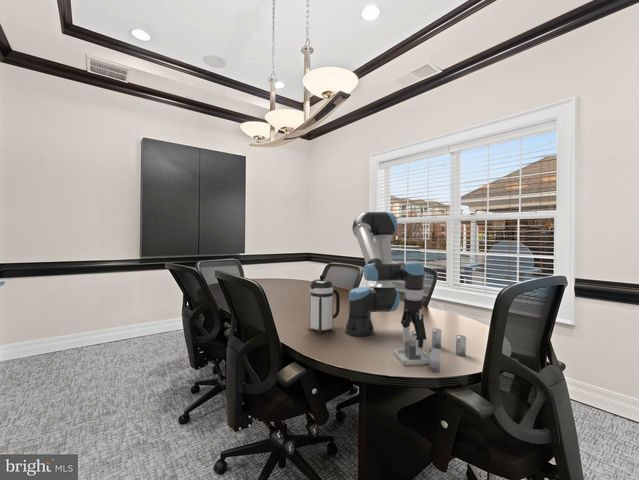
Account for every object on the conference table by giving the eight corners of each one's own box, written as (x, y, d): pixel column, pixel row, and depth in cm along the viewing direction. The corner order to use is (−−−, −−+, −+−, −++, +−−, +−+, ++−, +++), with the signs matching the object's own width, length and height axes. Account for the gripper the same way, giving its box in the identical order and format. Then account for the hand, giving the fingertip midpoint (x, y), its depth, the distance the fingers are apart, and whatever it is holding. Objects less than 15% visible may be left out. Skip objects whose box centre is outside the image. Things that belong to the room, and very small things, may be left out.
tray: (404, 365, 124) (404, 361, 124) (393, 353, 136) (393, 348, 136) (433, 364, 125) (433, 359, 125) (420, 352, 138) (420, 347, 138)
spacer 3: (431, 372, 118) (432, 352, 118) (426, 368, 122) (427, 348, 122) (441, 372, 119) (442, 351, 118) (436, 367, 123) (436, 347, 122)
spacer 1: (413, 350, 139) (413, 333, 139) (410, 347, 143) (410, 330, 143) (422, 350, 140) (422, 333, 139) (418, 347, 144) (418, 330, 143)
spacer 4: (458, 356, 133) (459, 338, 133) (453, 352, 137) (454, 335, 137) (467, 356, 134) (468, 338, 134) (462, 352, 138) (462, 334, 138)
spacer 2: (434, 348, 143) (434, 331, 142) (430, 345, 147) (430, 328, 146) (442, 347, 143) (443, 330, 143) (438, 344, 147) (438, 328, 147)
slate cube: (409, 360, 128) (409, 345, 128) (404, 355, 133) (404, 341, 133) (420, 359, 129) (421, 345, 129) (415, 354, 134) (415, 341, 133)
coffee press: (334, 335, 159) (335, 277, 158) (304, 333, 162) (305, 276, 161) (339, 325, 176) (340, 273, 174) (312, 323, 179) (312, 272, 178)
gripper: (436, 306, 118) (434, 360, 119) (410, 291, 143) (408, 336, 144) (417, 306, 117) (416, 361, 118) (394, 292, 142) (393, 337, 143)
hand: (412, 348), depth 131 cm, fingers open, 13 cm apart
